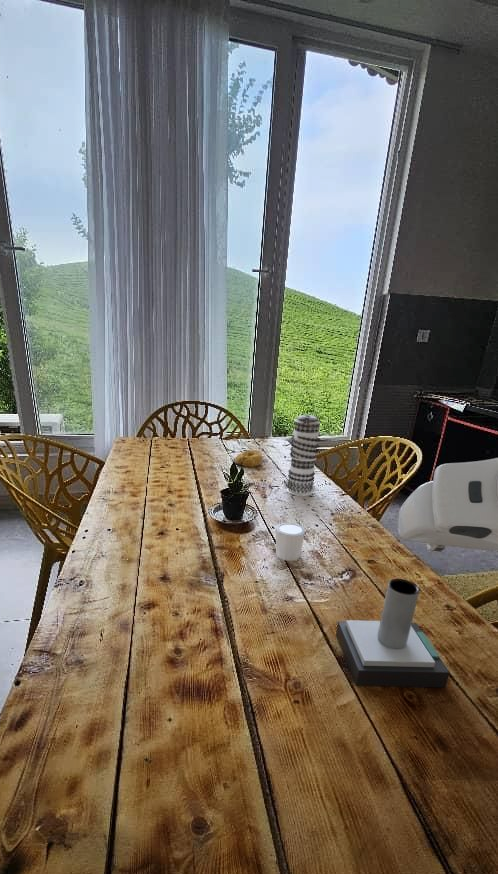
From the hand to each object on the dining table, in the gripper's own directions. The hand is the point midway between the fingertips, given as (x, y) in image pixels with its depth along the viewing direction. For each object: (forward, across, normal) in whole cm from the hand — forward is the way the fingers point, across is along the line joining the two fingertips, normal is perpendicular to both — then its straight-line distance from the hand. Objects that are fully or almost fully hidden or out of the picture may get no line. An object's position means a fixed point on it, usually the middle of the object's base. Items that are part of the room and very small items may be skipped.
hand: (475, 550), depth 52 cm
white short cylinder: (+50, +22, -12) cm, 56 cm away
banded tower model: (+82, +20, -44) cm, 95 cm away
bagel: (+100, +41, -61) cm, 125 cm away
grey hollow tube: (+25, +4, +8) cm, 27 cm away
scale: (+28, +4, +11) cm, 30 cm away
